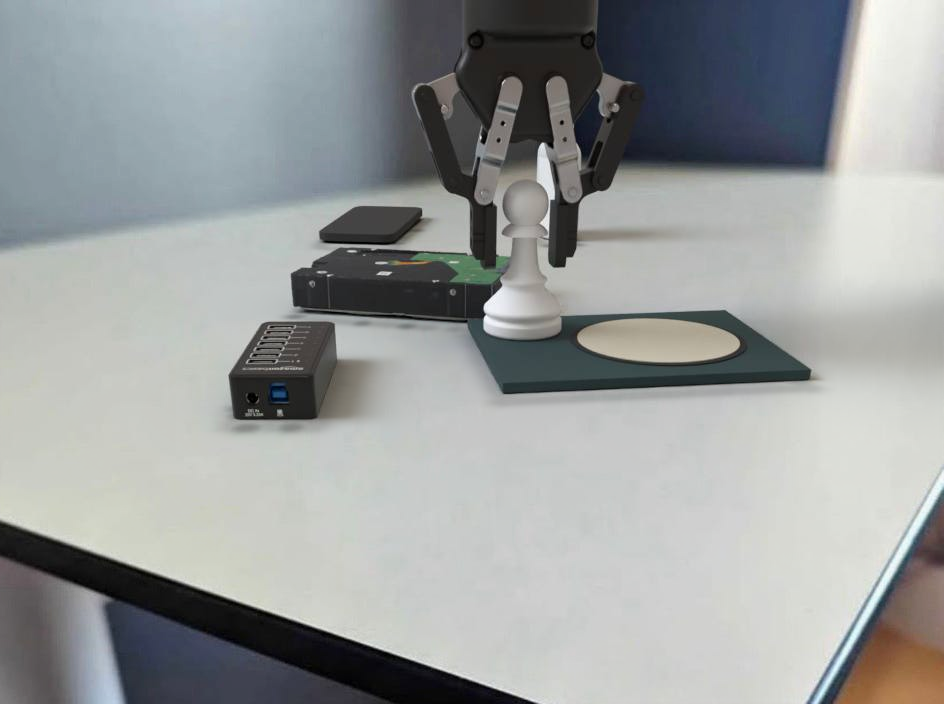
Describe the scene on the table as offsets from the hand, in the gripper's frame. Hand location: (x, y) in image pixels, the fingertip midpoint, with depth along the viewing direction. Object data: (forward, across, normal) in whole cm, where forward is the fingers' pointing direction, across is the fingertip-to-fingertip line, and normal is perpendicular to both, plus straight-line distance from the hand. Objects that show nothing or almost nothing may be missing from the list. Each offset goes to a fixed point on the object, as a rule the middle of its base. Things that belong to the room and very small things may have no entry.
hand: (522, 264), depth 64 cm
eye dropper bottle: (+5, +10, +36) cm, 37 cm away
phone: (+5, -7, +42) cm, 42 cm away
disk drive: (+5, -6, +12) cm, 14 cm away
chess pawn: (+4, 0, 0) cm, 4 cm away
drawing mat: (+5, +6, -4) cm, 8 cm away
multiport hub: (+5, -15, -8) cm, 17 cm away
